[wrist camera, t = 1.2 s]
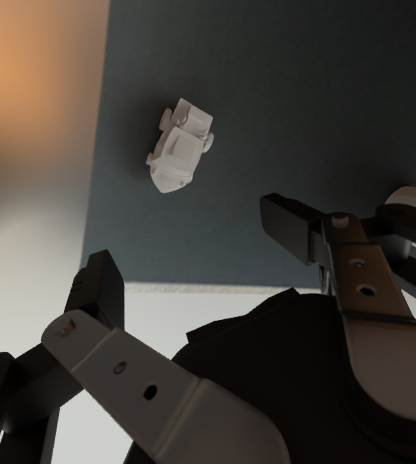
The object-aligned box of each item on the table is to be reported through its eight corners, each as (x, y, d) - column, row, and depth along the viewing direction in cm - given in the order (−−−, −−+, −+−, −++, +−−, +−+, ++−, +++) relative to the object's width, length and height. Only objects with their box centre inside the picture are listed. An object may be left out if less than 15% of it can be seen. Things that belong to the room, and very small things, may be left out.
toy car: (214, 122, 22) (231, 123, 19) (182, 195, 25) (191, 208, 21) (169, 95, 20) (179, 90, 17) (138, 178, 22) (140, 189, 19)
